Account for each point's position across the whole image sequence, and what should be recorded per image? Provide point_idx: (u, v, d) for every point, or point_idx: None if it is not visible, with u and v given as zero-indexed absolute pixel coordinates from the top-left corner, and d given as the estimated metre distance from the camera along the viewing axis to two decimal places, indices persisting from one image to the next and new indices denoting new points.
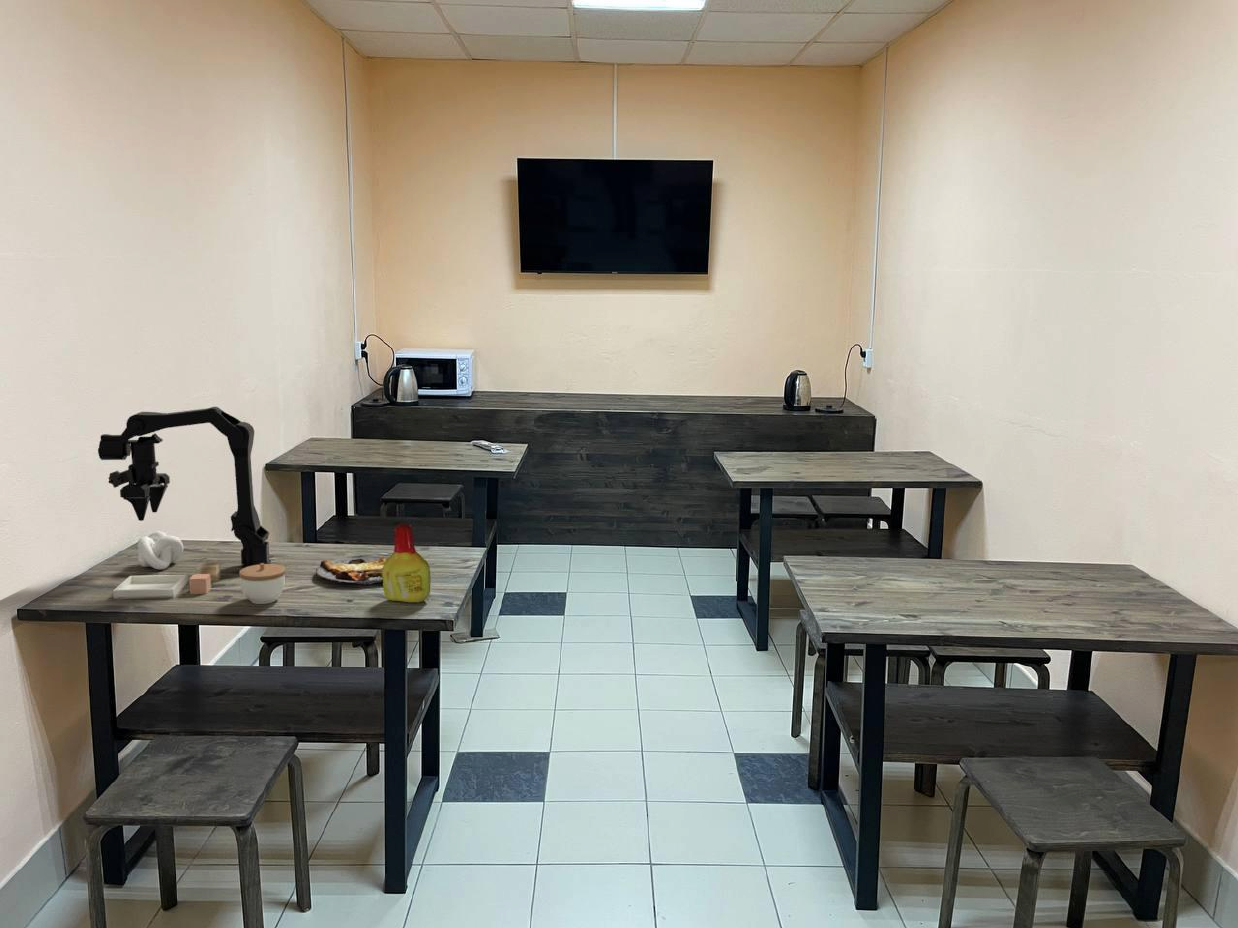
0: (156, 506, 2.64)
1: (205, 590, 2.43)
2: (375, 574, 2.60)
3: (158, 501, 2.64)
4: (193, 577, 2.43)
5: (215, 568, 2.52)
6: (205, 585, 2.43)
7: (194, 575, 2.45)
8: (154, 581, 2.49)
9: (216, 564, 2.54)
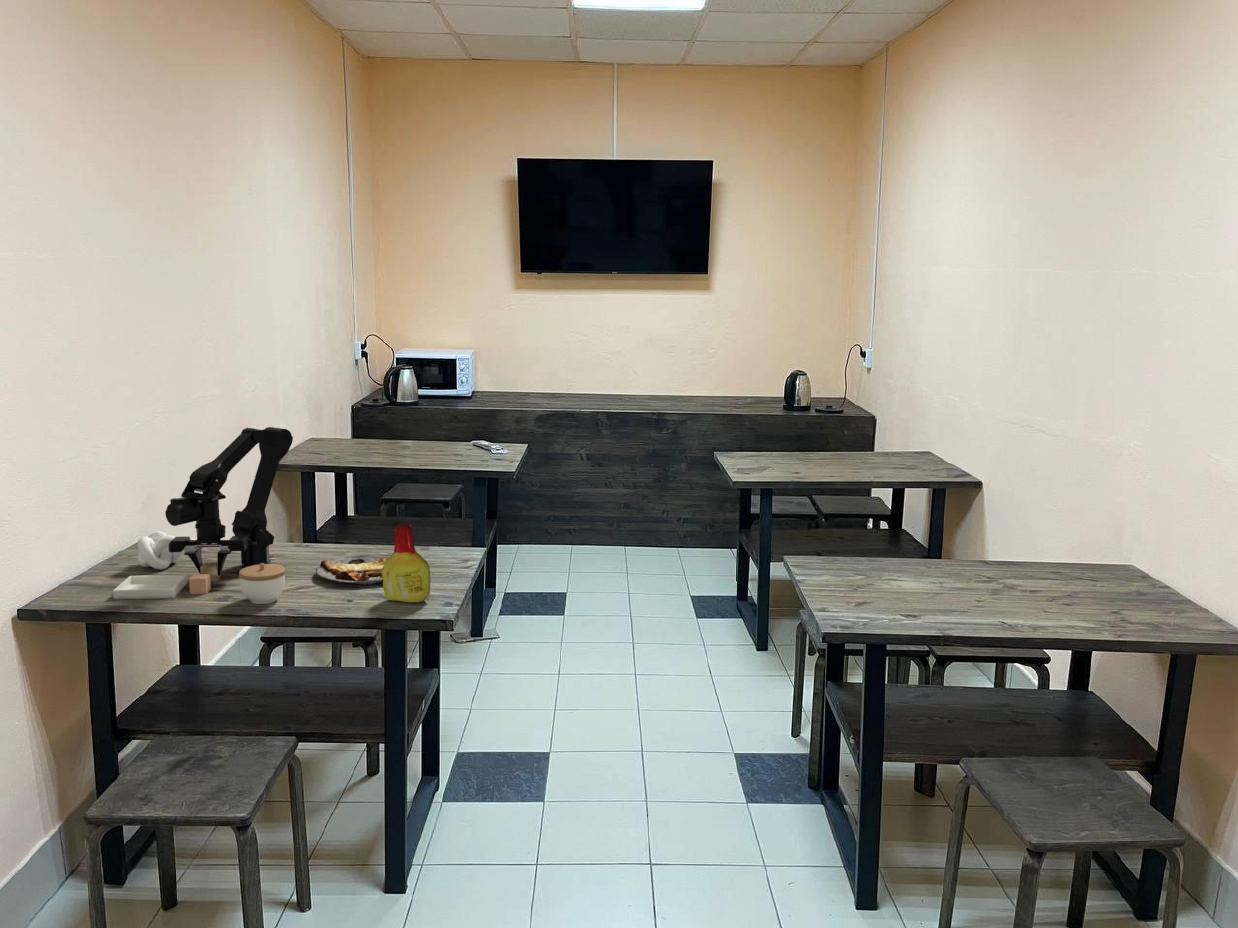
0: None
1: (205, 590, 2.43)
2: (375, 574, 2.60)
3: None
4: (193, 577, 2.43)
5: (215, 568, 2.52)
6: (205, 585, 2.43)
7: (194, 575, 2.45)
8: (154, 581, 2.49)
9: (216, 564, 2.54)
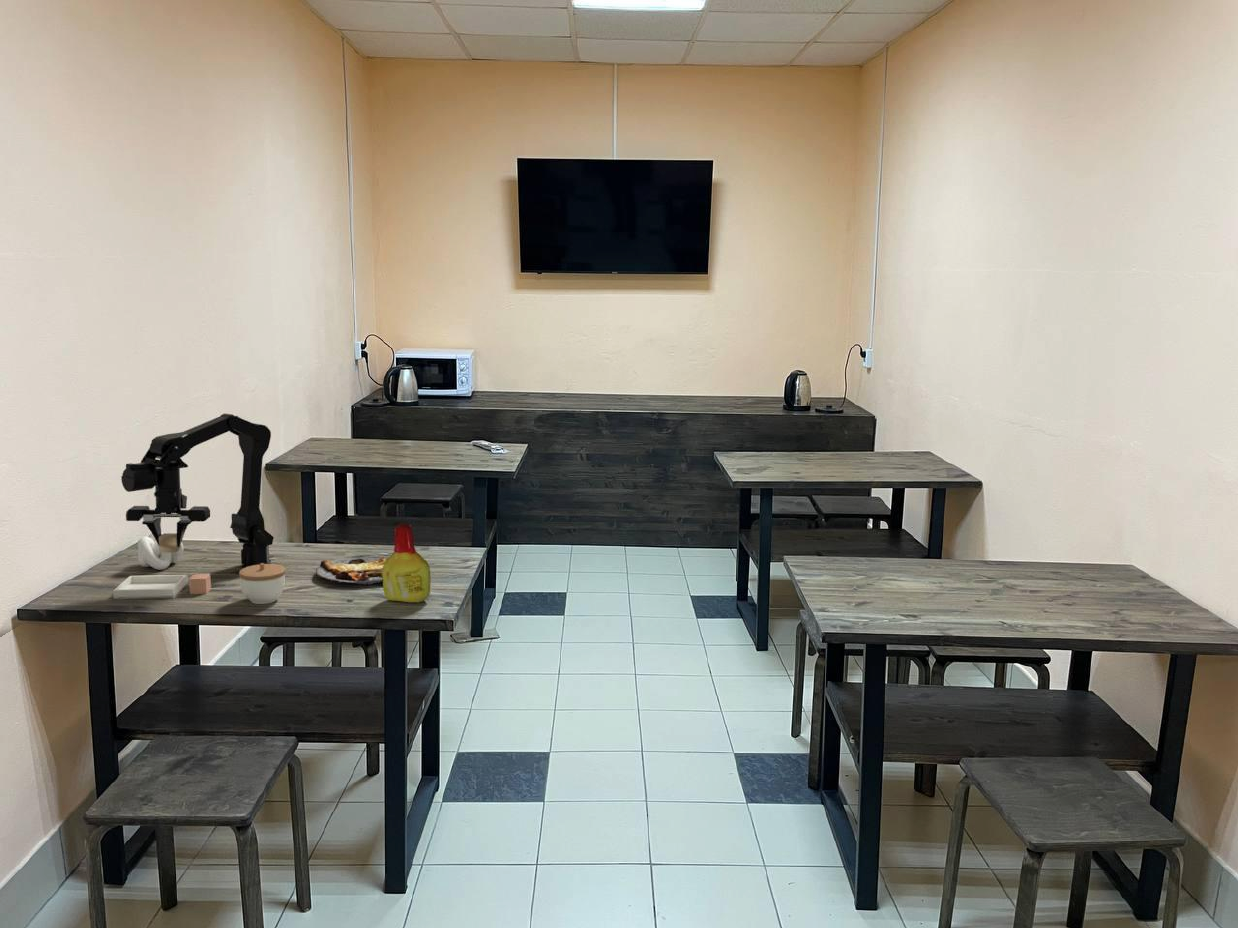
0: None
1: (205, 590, 2.43)
2: (375, 574, 2.60)
3: None
4: (193, 577, 2.43)
5: (174, 538, 2.43)
6: (205, 585, 2.43)
7: (194, 575, 2.45)
8: (154, 581, 2.49)
9: (176, 534, 2.45)
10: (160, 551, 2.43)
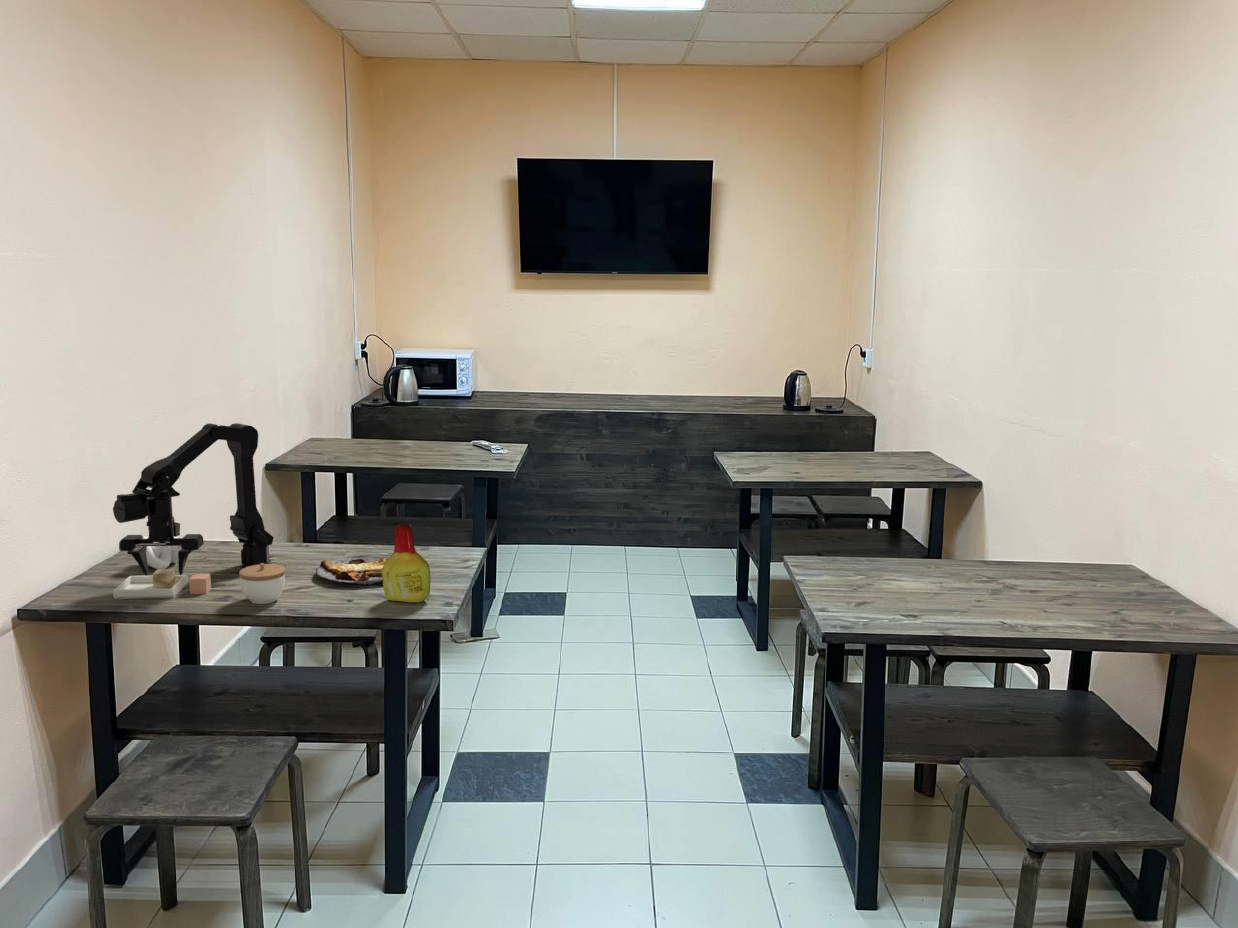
0: None
1: (205, 590, 2.43)
2: (375, 574, 2.60)
3: None
4: (193, 577, 2.43)
5: (168, 574, 2.44)
6: (205, 585, 2.43)
7: (194, 575, 2.45)
8: None
9: (170, 570, 2.46)
10: (154, 587, 2.44)
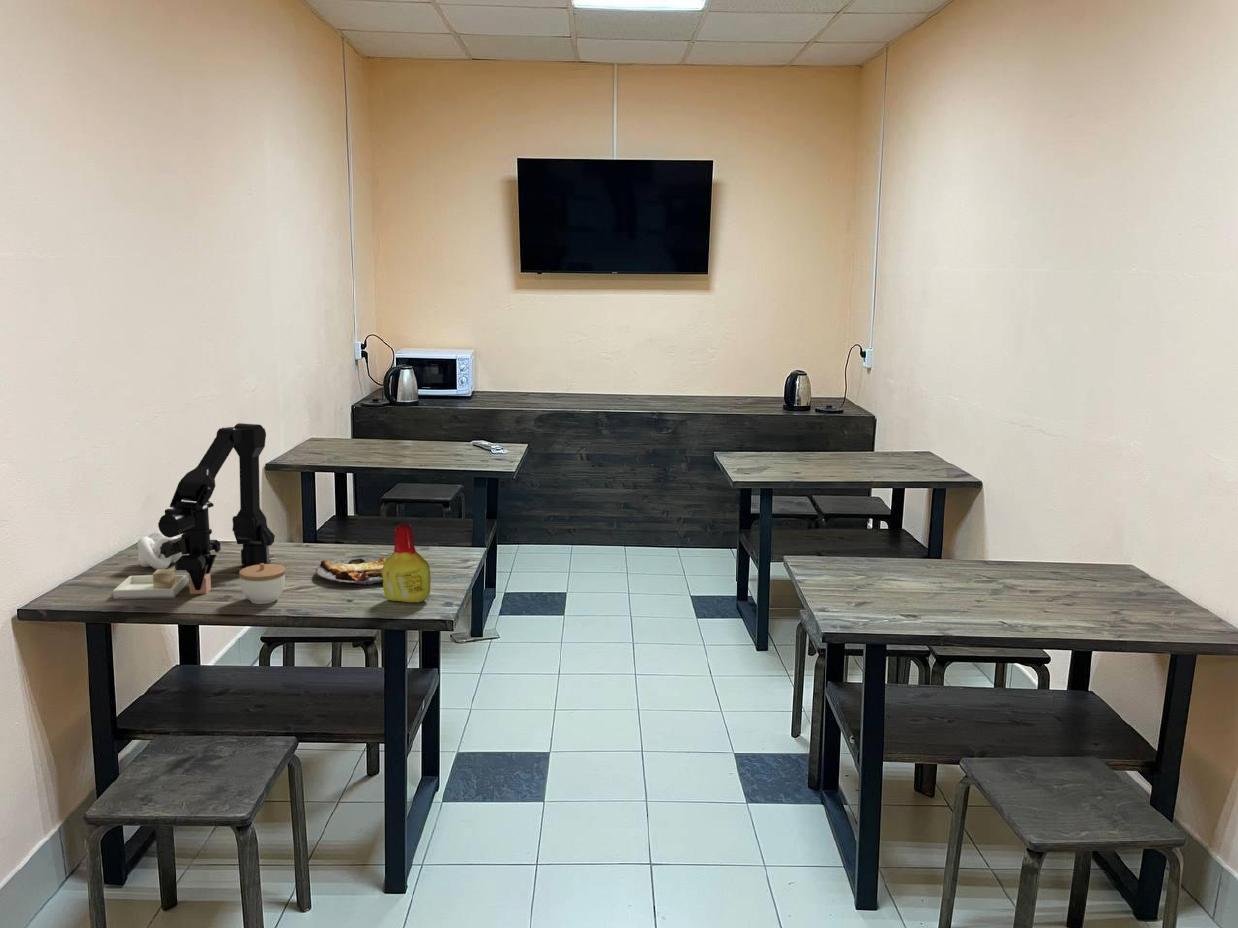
0: None
1: (205, 590, 2.43)
2: (375, 574, 2.60)
3: (207, 572, 2.46)
4: None
5: (168, 574, 2.44)
6: (205, 585, 2.43)
7: None
8: None
9: (170, 570, 2.46)
10: (154, 587, 2.44)
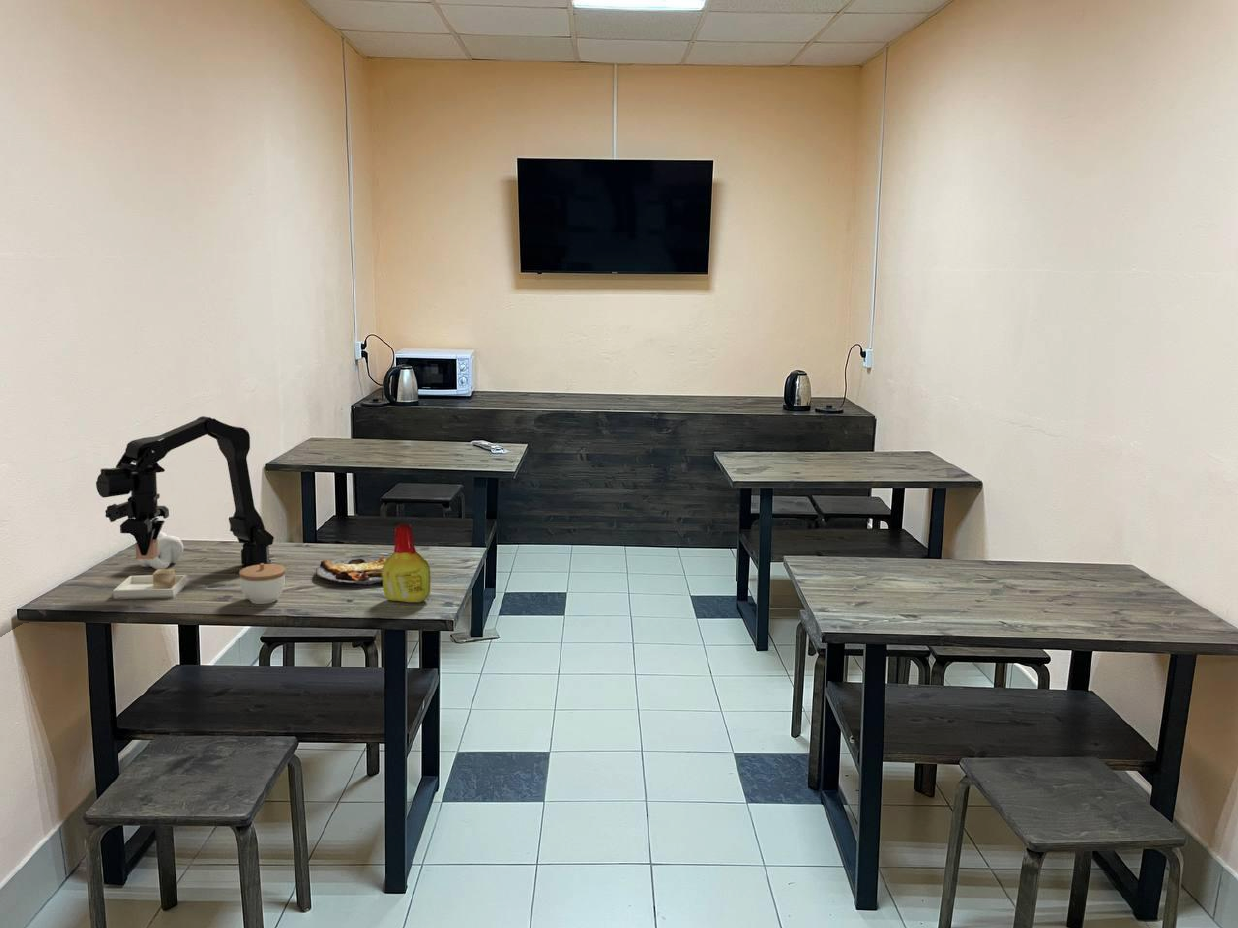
0: None
1: (152, 555, 2.38)
2: (375, 574, 2.60)
3: (154, 538, 2.41)
4: None
5: (168, 574, 2.44)
6: (152, 550, 2.38)
7: None
8: None
9: (170, 570, 2.46)
10: (154, 587, 2.44)
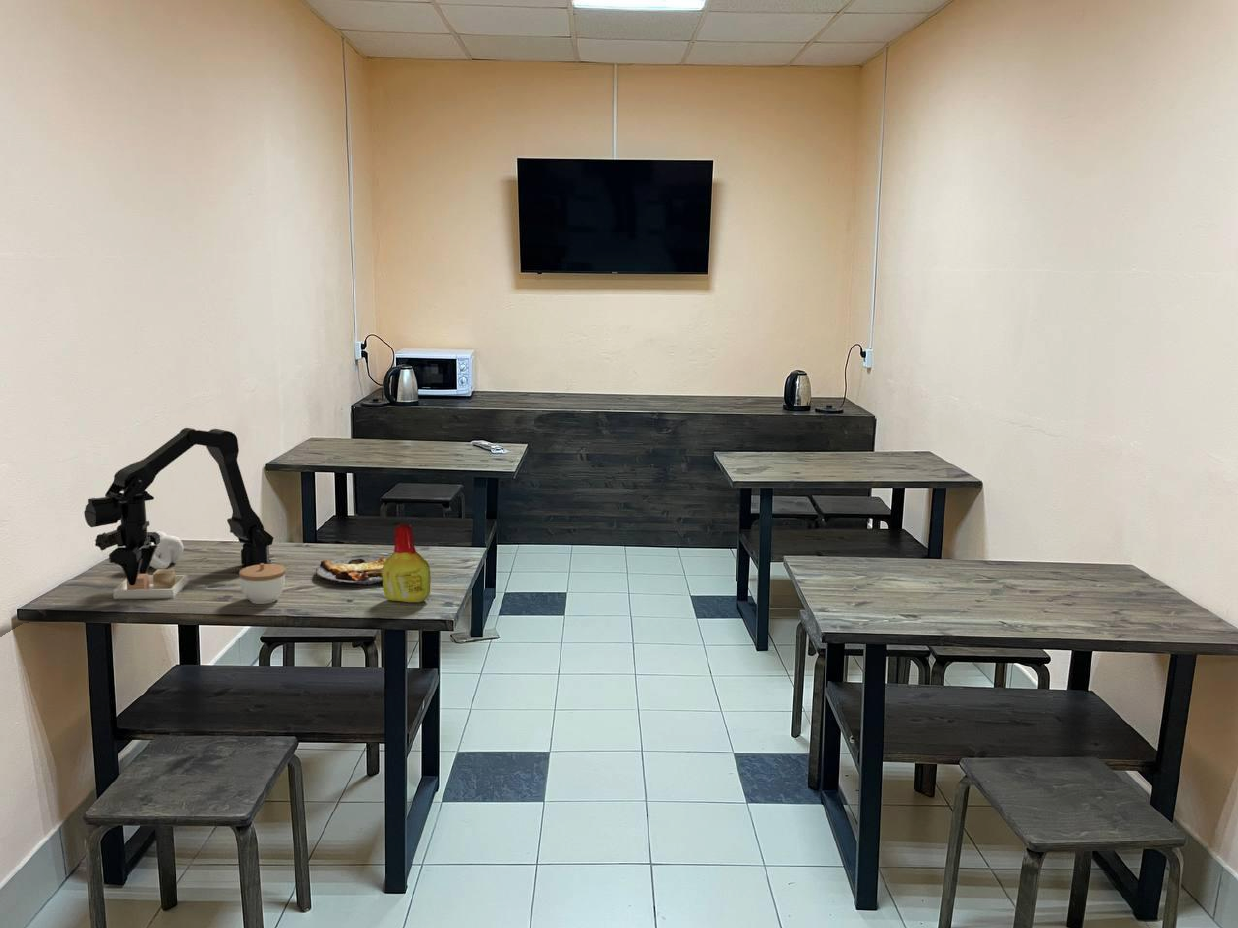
0: (145, 569, 2.44)
1: None
2: (375, 574, 2.60)
3: (147, 563, 2.44)
4: None
5: (168, 574, 2.44)
6: (143, 585, 2.39)
7: None
8: None
9: (170, 570, 2.46)
10: (154, 587, 2.44)
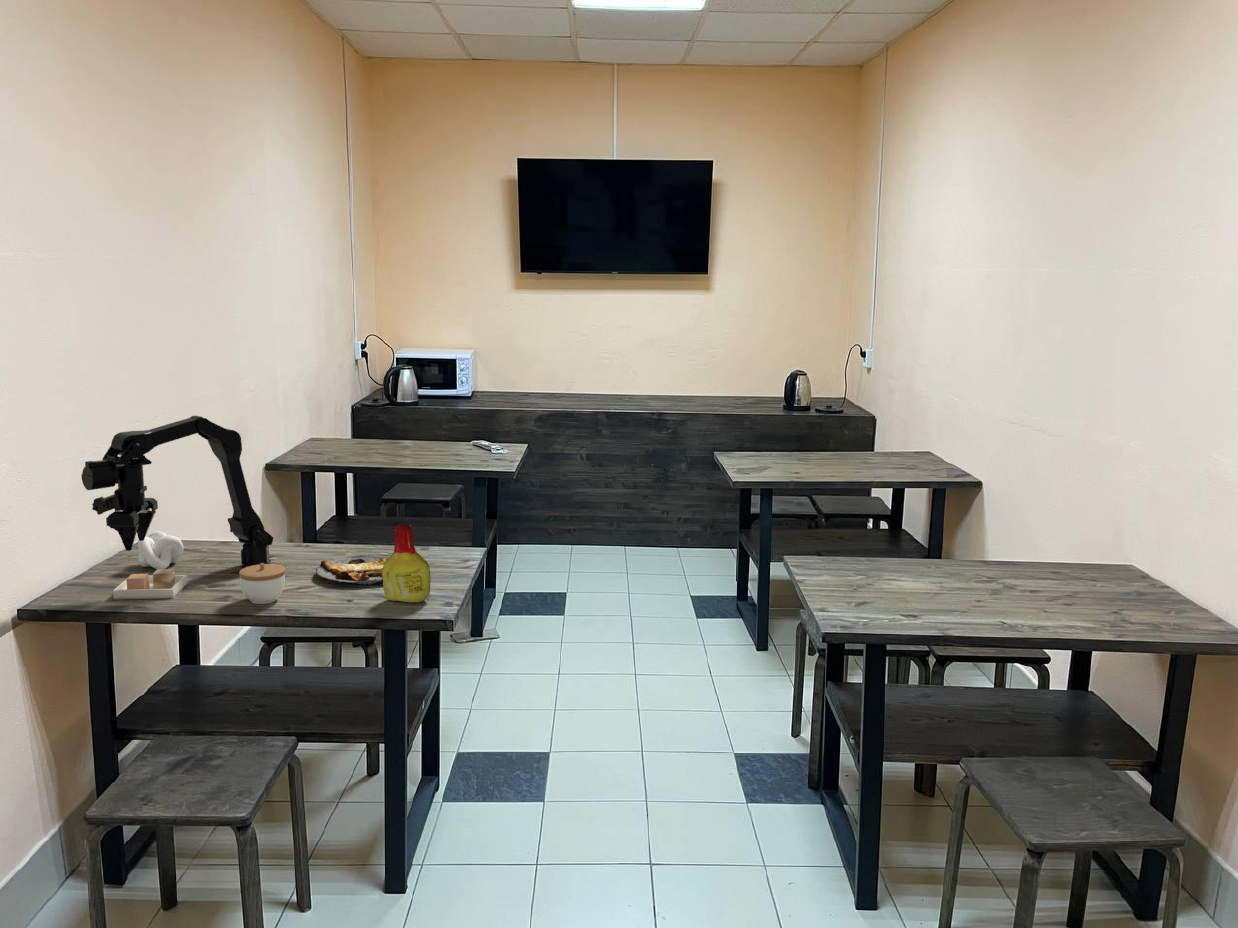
0: (143, 534, 2.43)
1: None
2: (375, 574, 2.60)
3: (145, 528, 2.43)
4: (131, 577, 2.40)
5: (168, 574, 2.44)
6: (143, 585, 2.39)
7: (132, 575, 2.41)
8: None
9: (170, 570, 2.46)
10: (154, 587, 2.44)
